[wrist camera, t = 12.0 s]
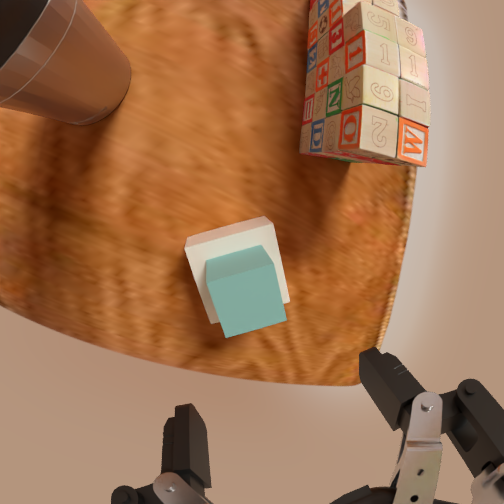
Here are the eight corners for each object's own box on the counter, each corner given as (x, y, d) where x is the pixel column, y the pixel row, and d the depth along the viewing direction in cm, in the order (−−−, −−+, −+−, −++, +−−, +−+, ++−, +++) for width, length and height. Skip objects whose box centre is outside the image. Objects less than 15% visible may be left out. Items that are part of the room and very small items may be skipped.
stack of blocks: (307, -5, 21) (351, -61, 9) (354, 9, 22) (409, -33, 10) (298, 155, 27) (359, 149, 15) (351, 164, 28) (428, 169, 16)
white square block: (187, 236, 27) (184, 248, 23) (264, 215, 28) (273, 223, 24) (210, 305, 30) (210, 324, 26) (280, 285, 30) (289, 301, 27)
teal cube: (206, 259, 24) (206, 282, 19) (261, 244, 24) (273, 263, 20) (222, 307, 26) (225, 337, 21) (273, 293, 26) (286, 320, 21)
